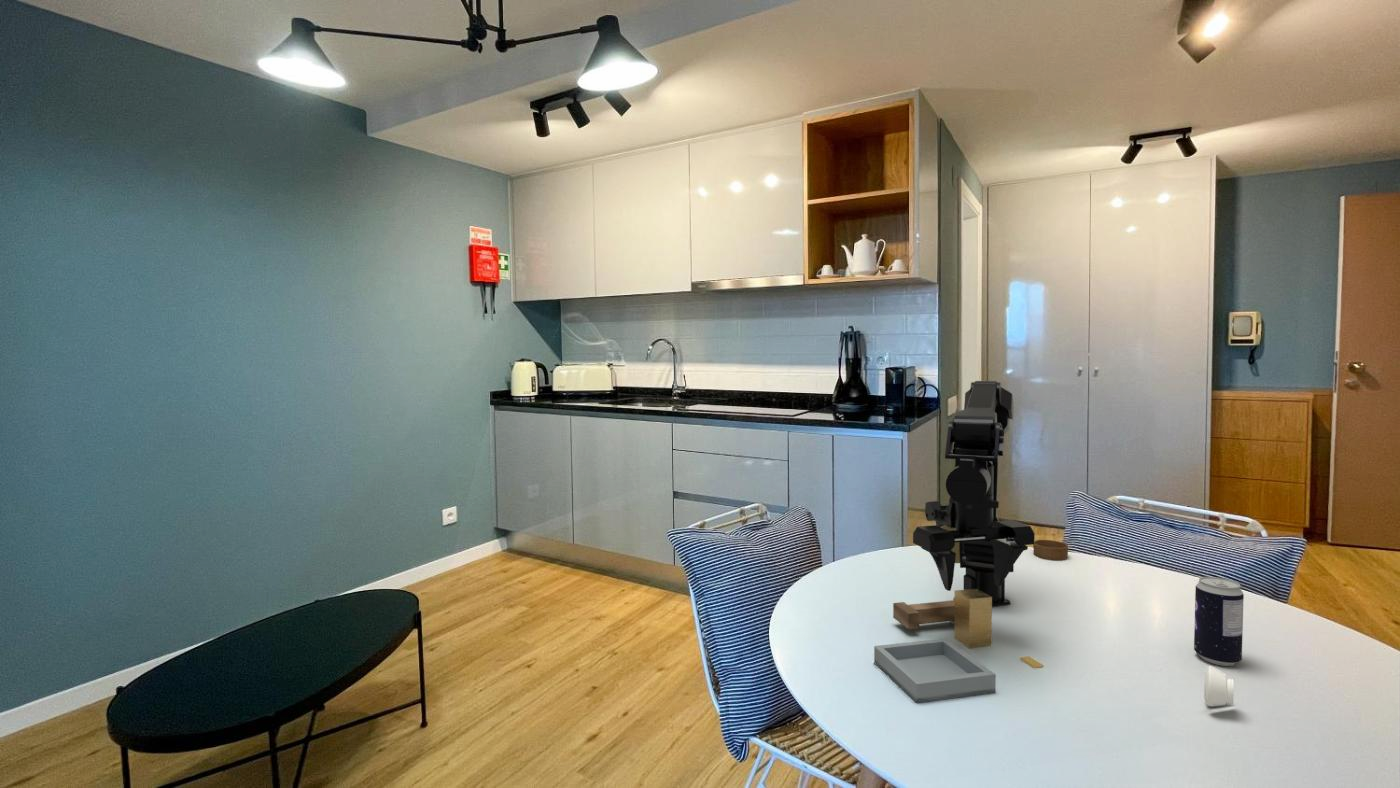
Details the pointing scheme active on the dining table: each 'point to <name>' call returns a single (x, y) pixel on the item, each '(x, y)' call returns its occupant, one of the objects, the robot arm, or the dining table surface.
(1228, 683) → the white jar
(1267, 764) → the dining table surface
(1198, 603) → the beverage can
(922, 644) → the tray
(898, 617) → the crank
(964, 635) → the wooden block
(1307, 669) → the dining table surface
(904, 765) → the dining table surface
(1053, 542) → the brown round basket
